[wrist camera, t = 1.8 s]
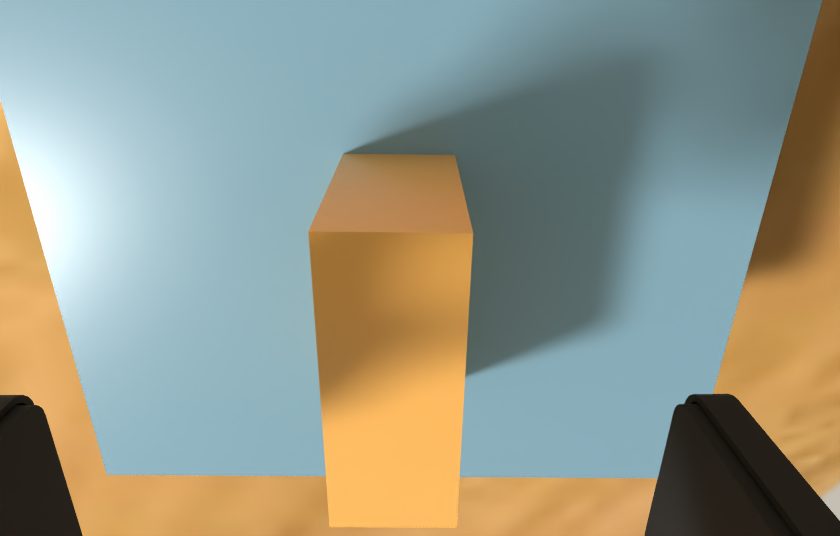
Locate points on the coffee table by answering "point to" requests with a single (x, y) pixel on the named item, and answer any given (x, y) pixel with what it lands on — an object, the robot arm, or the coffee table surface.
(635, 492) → the coffee table surface
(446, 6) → the tub lid
